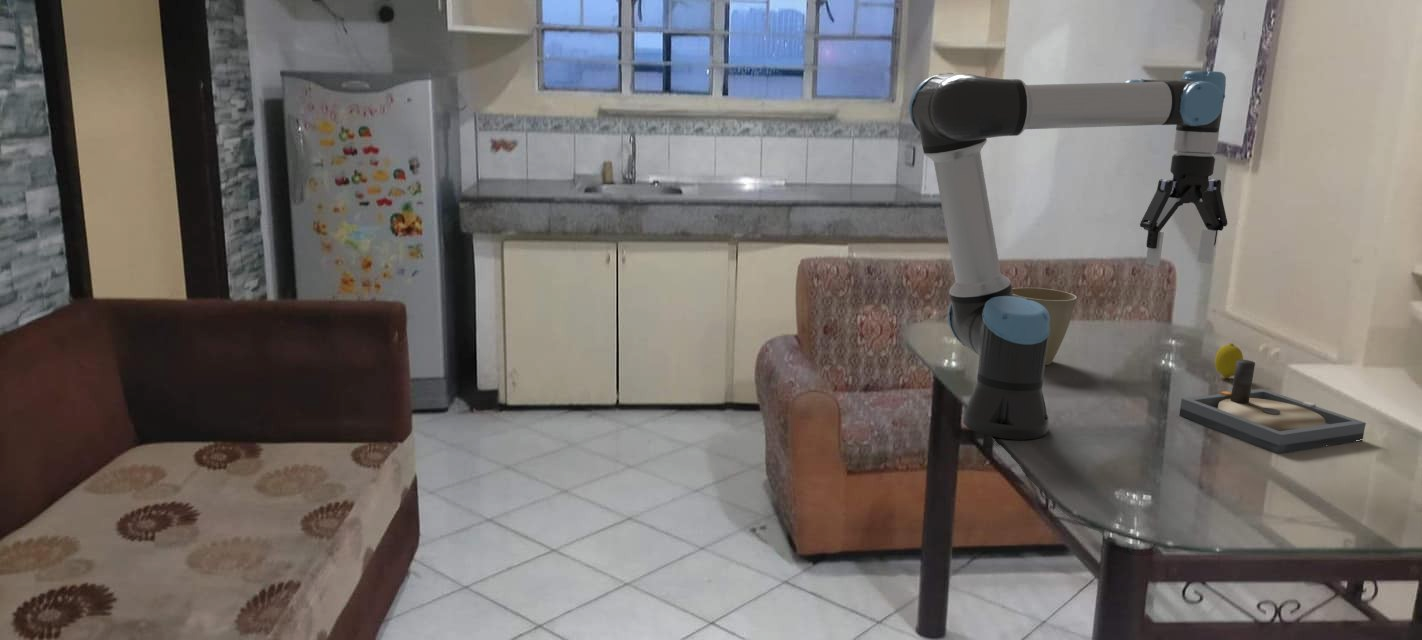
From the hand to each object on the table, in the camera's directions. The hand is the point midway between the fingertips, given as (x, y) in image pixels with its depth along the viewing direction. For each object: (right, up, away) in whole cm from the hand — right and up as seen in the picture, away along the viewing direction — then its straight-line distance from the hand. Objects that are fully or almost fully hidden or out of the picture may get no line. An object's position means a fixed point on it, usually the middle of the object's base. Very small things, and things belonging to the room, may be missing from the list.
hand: (1178, 263), depth 204 cm
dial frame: (+14, -31, -6) cm, 35 cm away
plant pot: (-17, -21, +36) cm, 45 cm away
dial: (+14, -30, -6) cm, 34 cm away
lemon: (+23, -24, +27) cm, 43 cm away
